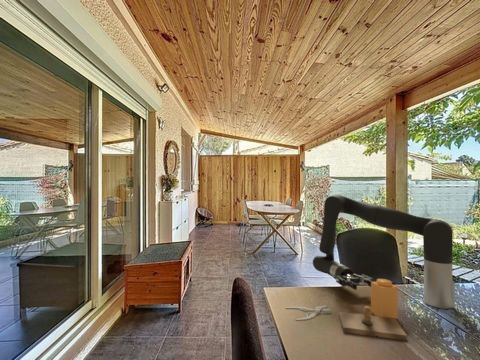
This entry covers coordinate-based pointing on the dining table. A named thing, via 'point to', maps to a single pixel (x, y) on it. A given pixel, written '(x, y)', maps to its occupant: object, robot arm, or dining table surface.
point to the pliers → (315, 311)
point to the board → (371, 325)
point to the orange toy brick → (384, 298)
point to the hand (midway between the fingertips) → (365, 286)
